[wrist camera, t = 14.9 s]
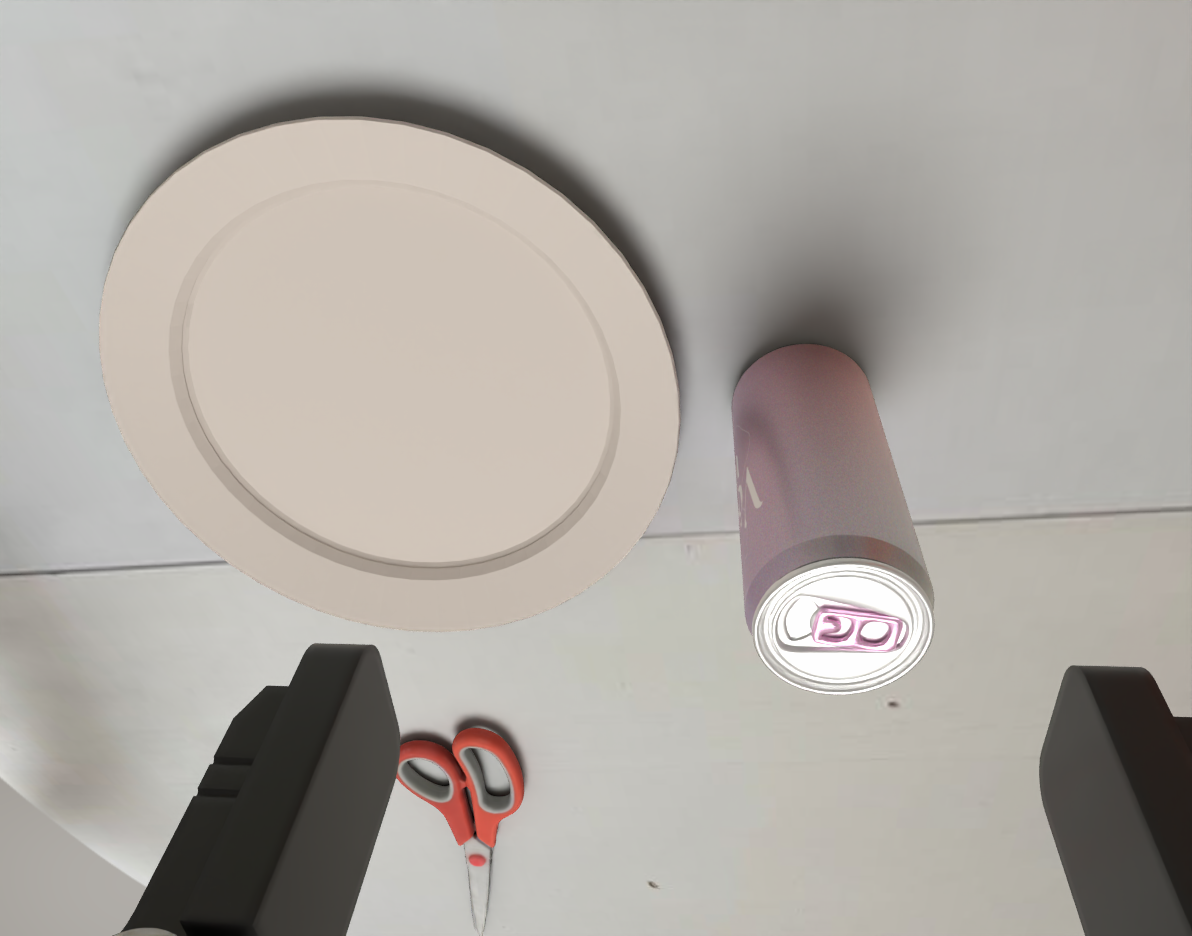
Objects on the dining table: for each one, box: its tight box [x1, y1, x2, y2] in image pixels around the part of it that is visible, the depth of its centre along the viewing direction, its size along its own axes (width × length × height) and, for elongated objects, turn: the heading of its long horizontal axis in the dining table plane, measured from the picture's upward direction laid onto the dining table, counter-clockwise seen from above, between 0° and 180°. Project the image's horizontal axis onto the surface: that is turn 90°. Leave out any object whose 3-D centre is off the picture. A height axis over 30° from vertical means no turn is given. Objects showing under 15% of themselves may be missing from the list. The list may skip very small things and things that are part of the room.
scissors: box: [396, 728, 524, 936], centre depth 62 cm, size 8×21×2 cm, turn 11°
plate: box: [99, 116, 681, 632], centre depth 44 cm, size 26×26×2 cm
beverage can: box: [732, 344, 935, 695], centre depth 37 cm, size 6×6×15 cm
